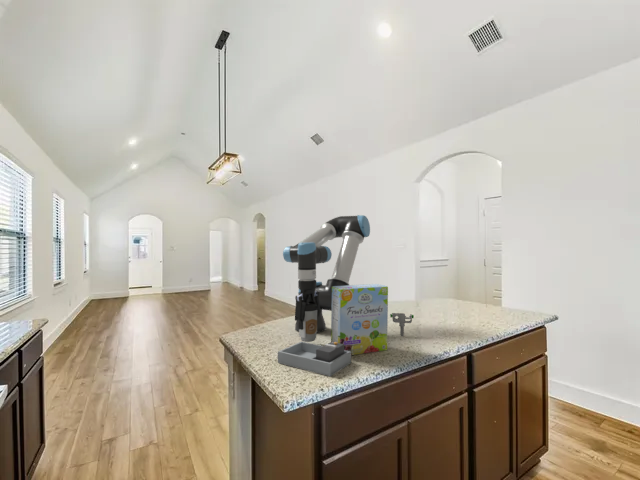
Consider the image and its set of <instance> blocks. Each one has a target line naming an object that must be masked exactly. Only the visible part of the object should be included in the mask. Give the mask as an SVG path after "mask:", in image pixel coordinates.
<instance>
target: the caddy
mask: <svg viewBox="0 0 640 480" xmlns="http://www.w3.org/2000/svg"><path fill="white" fill-rule="evenodd" d="M322 346H323V345H321V344H315V343H311V342H304V341H302V340H301V341H299V342H296V343H294V344H292V345H290V346H287V347H285V348H282V349H280V350H279V351H277V363H278V364H281V365H284V366H289V367H292V368H297V369H301V370H304V371H308V372H312V373H315V374H316V373H317V374H318V375H319V374H320V375H323V376H327V377H332V376H333V375H335V374H337V373H338V372H340V370H343V369H345V367H347V366H349V365H350V364H352V355H351V351H346V350H344V354H343V355H342V356H340V357H338V358H336V359H335V360H333V361H331V362H330V363H329V362H325V361H320V360H316V349H318V348H320V347H322Z"/></svg>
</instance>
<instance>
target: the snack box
mask: <svg viewBox="0 0 640 480" xmlns="http://www.w3.org/2000/svg"><path fill="white" fill-rule="evenodd" d="M388 298H389V287H388V285H383V284H379V283H371V284H349V285H347V286H332V311H331V313H330V314H331V315H330V316H331V318H330V319H331V320H330V321H331V322H330V328H331V329H330V333H331V334H330V342H337V343H340V344H344V350H346V351H351V356H355V355H357V356H358V355H362V354H367V353H369V354H370V353H376V352H382V351H387V350H388V322H389V320H388V319H389V318H388V312H389V309H388V308H389V306H388V305H389V304H388V303H389V299H388Z"/></svg>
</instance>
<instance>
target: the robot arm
mask: <svg viewBox="0 0 640 480" xmlns="http://www.w3.org/2000/svg"><path fill="white" fill-rule="evenodd" d="M370 233H371V225H370V222H369V219H368V217H367V216H366V215H362V214H357V215H342V216H341V215H339V216H337V217H334V218H331V219H329V220H328V221H325V223H323V224H322V225H321V226H320V228H319V229H317V230H316V231H314V232H313V233H311V234H310V235H309V236H307V237H306V238H304V239H303V240H301V241H300V242H298V243H297V244H295V245H293V246H292V245H290V246H285V247H284V249H283V251H282V256H283V259H284V261H285V262H286V263H292V264H293V263H295V264H297V269H298V270H297V279H298V283H297V285H298V286H297V287H298V292H297V293H298V295H295V297H294V298H295V310H294V313H295V314H294V321H295V324H294V328H295V329H294V330H295V331H296V332H298V337H300V338H301V337H303V338H305V337H306V327H305V321H304V318H305V309H302V308H305V306H304V307H302V305H308V303H316V304H317V306H318V307H317V308H318V309H317V331H316V334H317V333H322V332H324V331H326V329H327V326H326V325H327V324H326V322H325V318H324V315H323V311H331V312H332V286H347V285H350V283H349V282H350V278H351V275H352V270H353V268H354V264H355V261H356V257H357V254H358V250H359V246H360V244H362V243H363V242H364V239H365V238H367V237H369V236H370V235H371V234H370ZM336 238H342V240H343V241H342V243H341V247H340V249H339V253H338V254H337V255H338V256H337V259H336V262H335V265H334V269H333V271H332V275H331V277H330V278H328V279H327V281H326V284H325V285H324V284H323V283H322V281H317V280H316V279H317V264H325V263H328V262H330V260H331V259H332V249H330V248H329V246H326V245H324V244H325V243H326V242H328V241H332V240H334V239H336ZM305 302H306V303H305Z"/></svg>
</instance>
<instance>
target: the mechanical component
mask: <svg viewBox="0 0 640 480" xmlns="http://www.w3.org/2000/svg"><path fill="white" fill-rule="evenodd" d="M389 316H390V317H389V318H392V322H393V323H395V324H396V323H397V324H399V325H398V326H399V330H400V333H399V335H400V337H404V335H405V331H404V330H405V329H404V328H405V326H406V325H405V324H411V323H412V321H413V319H414V314H409V316H407V315H406V313H403V312H392V313H390V314H389ZM396 317H398V318H396Z"/></svg>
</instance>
